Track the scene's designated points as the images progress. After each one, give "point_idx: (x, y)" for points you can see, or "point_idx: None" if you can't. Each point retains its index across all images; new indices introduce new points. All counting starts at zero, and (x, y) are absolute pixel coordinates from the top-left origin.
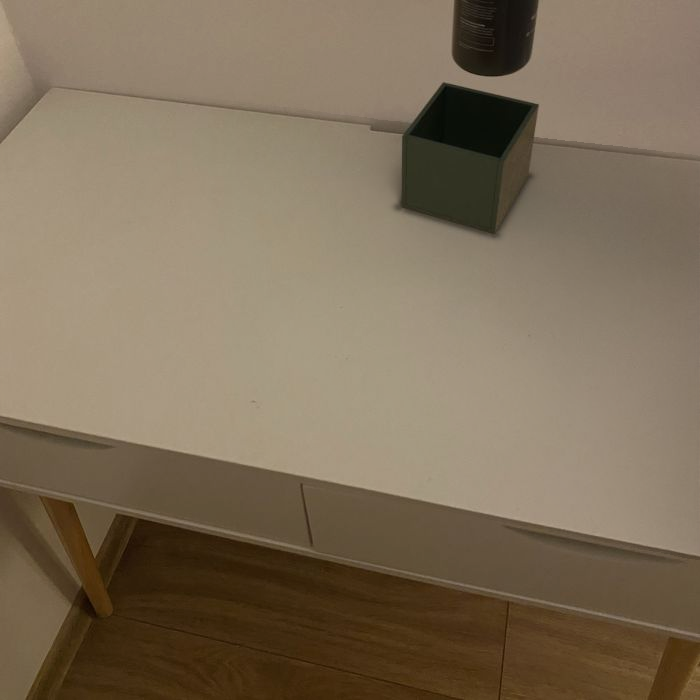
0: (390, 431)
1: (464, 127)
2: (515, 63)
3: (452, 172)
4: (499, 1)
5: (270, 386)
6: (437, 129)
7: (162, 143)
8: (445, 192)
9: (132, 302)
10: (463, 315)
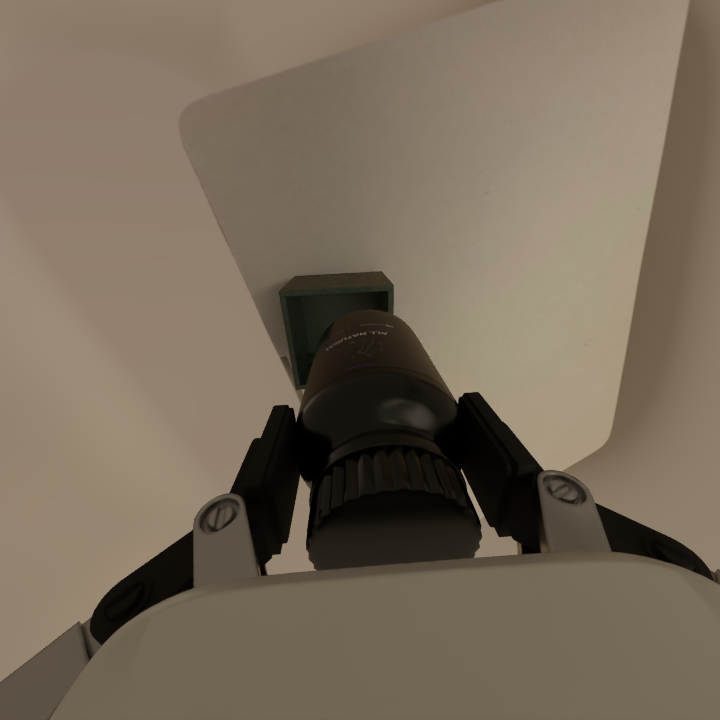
0: (599, 254)
1: (302, 348)
2: (400, 320)
3: None
4: (476, 392)
5: (572, 341)
6: None
7: None
8: None
9: (523, 439)
10: (480, 254)
